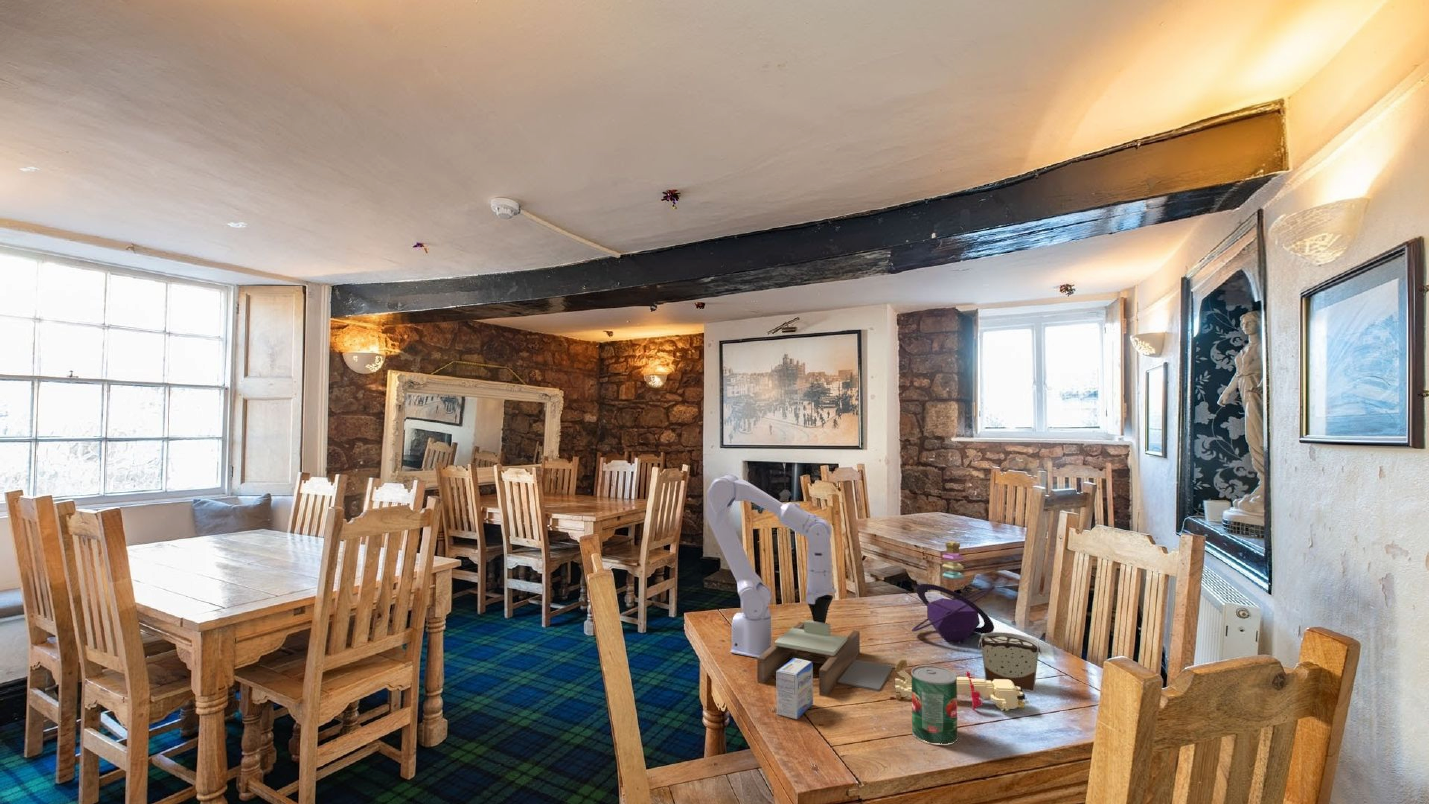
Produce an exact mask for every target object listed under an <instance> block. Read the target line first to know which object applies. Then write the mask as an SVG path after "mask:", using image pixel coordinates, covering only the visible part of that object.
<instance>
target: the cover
mask: <svg viewBox="0 0 1429 804" xmlns="http://www.w3.org/2000/svg"><path fill="white" fill-rule="evenodd" d="M803 623H804V630H802V629H796V628H793V627H790V628H789V629H787V631H785V632H784V633H783V634H782V635H780V636H779V637H778V638H777V639H776V640H775V641H774V643H773V644H774V645H775V646H781V647H786V648H792V649H798V651H804V652H805V651H806V652H809V653H810V652H815V653H821V654H827V655H831V656H834V655H835V654H836V653H837V652H838V650H839V649H840V648H841V647H842V646H843V645H844V644H845V642H846V641H847V637H848V636H846V635H840V634H838V635H837V634H834V633H833V634H832V633H831V623H829V622H828V623H827V622H825V623H822V622H816V621H813V620H808V619H806V620H805V621H804V622H803Z"/></svg>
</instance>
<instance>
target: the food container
mask: <svg viewBox="0 0 1429 804" xmlns="http://www.w3.org/2000/svg"><path fill="white" fill-rule="evenodd" d="M980 646H981V653H982V654H981V655H982V662H983V663H982V664H983V669H984V678H985V679H984V680H990V681H991V682H992V681H993V680H994V679H1009V680H1011V682H1013V684H1014V686H1018V687H1020V689H1022V691H1025V690H1027V691H1026V692H1033V691H1034V692H1035V689H1036V681H1037V680H1036V679H1037V668H1038V659H1039V654H1040V655H1042V650H1041V647H1040V644H1039V642H1038V641H1036V640H1035V639H1032V638H1030V637H1028V636H1025V635H1021V634H1016V633H1011V632H1010V633H1009V632H1002V631H1001V632H999V631H998V632H994V631H993V632H991V633H985V634H981V636H980V638H979V641H978V648H980Z"/></svg>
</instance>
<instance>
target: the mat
mask: <svg viewBox="0 0 1429 804" xmlns="http://www.w3.org/2000/svg"><path fill="white" fill-rule="evenodd" d="M893 669H894V665H889V664H885V663H884V664H883V663H878V662H877V663H876V662H872V661H865V660H860V659H856V658H855V659H854V661H853V662H852V663H851V665H850V666H849V667H848V668H847V670H846V671H845V672H844V674H843V675H842V676H841V678H840V679H839V680H838V682H837V684H840V685H846V686H851V687H856V688H862V689H867V690H872V691H877V692H880V691H881V690H882V688H883V686H884V685H885V682H886V681H887V679H888V677H889V676H890V674H891V672H892V671H893Z"/></svg>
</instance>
